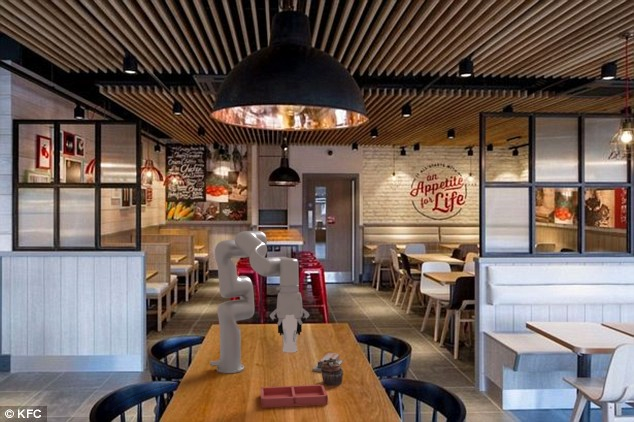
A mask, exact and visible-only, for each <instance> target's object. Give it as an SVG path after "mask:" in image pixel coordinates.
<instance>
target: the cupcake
mask: <svg viewBox="0 0 634 422" xmlns="http://www.w3.org/2000/svg"><path fill="white" fill-rule="evenodd" d="M342 368H343V367H342V364H341V365H340V364H339V363H338V362H337V361H336V359H332V358H330V359H329V360H324V361H323V365H322V367H321V372H320V373H321V377H322V383H323V385H325V384H326V386H332V387H333V386H340V385H341V384H342V383H343V376H344V370H343V369H342Z"/></svg>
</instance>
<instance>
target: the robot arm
mask: <svg viewBox="0 0 634 422" xmlns="http://www.w3.org/2000/svg"><path fill="white" fill-rule="evenodd" d="M267 243H268V239H267V236H266V234H265V233H264V232H263V231H261V230H245V231H244V230H243V231H240V232H238V233H237V234H236V236H235V237H234V239H226V240H225V239H224V240H221V241H219V242H218V243H216V245H215V249H214V259H215V262H216V266H217V273H218V276H217V277H218V288H219V295H220V296H221V297H222V298H225V299H230V298H231V299H232V298H238V297H239V299H233V300H226V301H224V302H221V303H220V304H219V305H218V308H217V318H218V324H219V325H218V326H219V359H218V360H210V363H209V365H210V366H211V367H216V371H217V372H218V373H220V374H235V373H239V372H240V373H241V372H242V371H244V370H245V365H244V364H242V362H241V361H242V352H241V351H242V349H241V348H242V341H241V340H242V337H241V335H242V333H241V332H242V331H241V328H240V326H239V325H238V323H237V322H239V321H243V320H244V321H245V320H249V319H251V318H253V316H254V315H255V296H254V294H255V293H254V285H253V284H254V283H253V282H252V280H251V278H250V277H249V276H247V275H240V276H239V275H238V272H237V271H238V268H237V266H236V264H235V262H234V261H233V260H232V259H238V258H240V259H241V258H249V265H250V267H251V268H252V270H253V271H254V272H256V273H257V274H258V275H259V276H262V277H275V276H279V286H276V287H275V290H276V291H279V293H277V299H276V308H275V309H274V310H273V311H272V312H271V313H270V314H269V317H270V319H271V320H272V321H273V322H274V323H275V324H276V325H277V334H279V336H281V337H282V326H281V322H282V319H285V318H286V315H294V318H295V319H298V333H297V336H300V335H301V333H302V332H303V327H302V325H303V323H304V322H306V320H307V318H309V317H310V313H309V312H308V311H307V310H306V309H305V308H303V298H302V293H301V292H300V289H299V288H300V285H299V284H300V277H299V275H300V274H299V271H300V270H299V260H298V259H297V258H292V257H287V256H272V257H266V255H267V253H268V247H267ZM303 314H304V315H303ZM275 316H277V318H276V317H275Z"/></svg>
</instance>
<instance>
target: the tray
mask: <svg viewBox="0 0 634 422" xmlns="http://www.w3.org/2000/svg"><path fill="white" fill-rule="evenodd" d="M328 399H329V398H328V393H327V391H326V389H325V385H324V384H307V385H304V384H303V385H283V386H265V387H264V386H260V408H261V409H262V408H263V409H264V408H265V409H266V408H282V407H284V408H285V407H301V406H303V407H305V406H323V405H328V403H329V402H328Z"/></svg>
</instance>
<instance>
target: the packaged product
mask: <svg viewBox="0 0 634 422" xmlns="http://www.w3.org/2000/svg"><path fill="white" fill-rule="evenodd" d="M330 358H332V359H336V361H337V362H338V363H339V364H341V365H342V363H343V362H344V360H343V359H340V353H337V352H327V353H325V354H324V356H322V357H321V358H320V359H319V360H318V361H317V364H316V365H314V366H313V368H312V371H313V372H319V373H321V367H322V365H323V361H324V360H329V359H330Z"/></svg>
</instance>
